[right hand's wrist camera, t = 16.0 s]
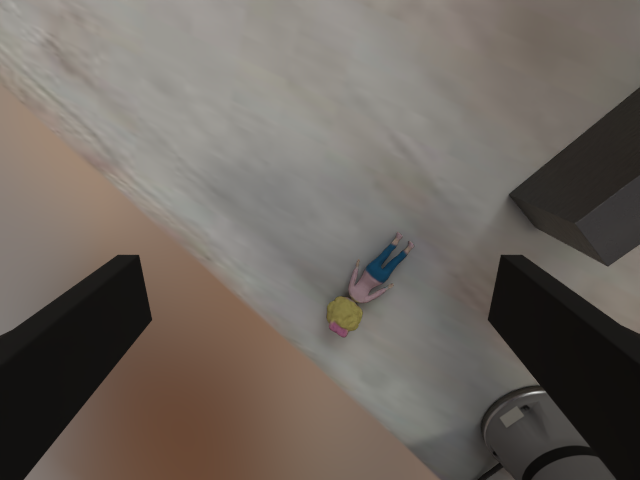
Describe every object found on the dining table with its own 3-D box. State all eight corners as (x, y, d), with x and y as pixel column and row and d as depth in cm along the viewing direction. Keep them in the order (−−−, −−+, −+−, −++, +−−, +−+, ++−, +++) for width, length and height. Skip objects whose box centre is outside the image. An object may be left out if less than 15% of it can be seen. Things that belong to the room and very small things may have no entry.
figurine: (385, 221, 44) (315, 306, 47) (393, 231, 40) (316, 323, 43) (419, 247, 45) (348, 328, 48) (431, 259, 41) (352, 347, 44)
